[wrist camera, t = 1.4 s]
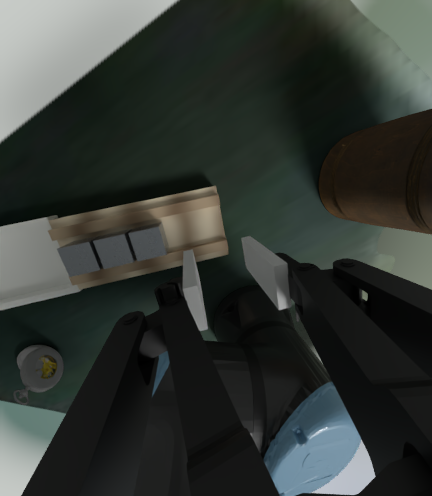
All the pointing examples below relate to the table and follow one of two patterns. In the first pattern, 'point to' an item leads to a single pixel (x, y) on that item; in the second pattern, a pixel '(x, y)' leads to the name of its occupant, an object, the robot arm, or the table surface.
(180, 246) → the slot board
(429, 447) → the robot arm
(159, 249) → the gray cube
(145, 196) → the table surface
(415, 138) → the wooden container
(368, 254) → the table surface
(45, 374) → the pocket watch
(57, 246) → the tray
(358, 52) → the table surface
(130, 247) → the grey square block
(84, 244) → the grey cubic block
